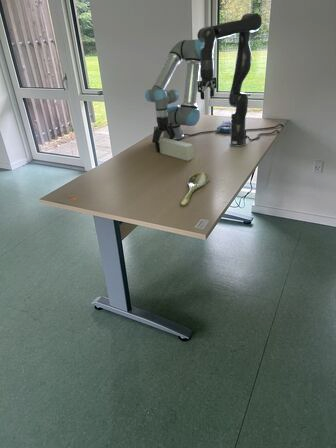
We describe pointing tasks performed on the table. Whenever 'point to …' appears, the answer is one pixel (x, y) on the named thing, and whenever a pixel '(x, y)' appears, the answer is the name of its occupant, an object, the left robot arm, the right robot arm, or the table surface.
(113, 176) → the table surface
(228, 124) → the spray gun
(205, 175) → the spoon
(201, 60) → the right robot arm
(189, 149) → the bar
